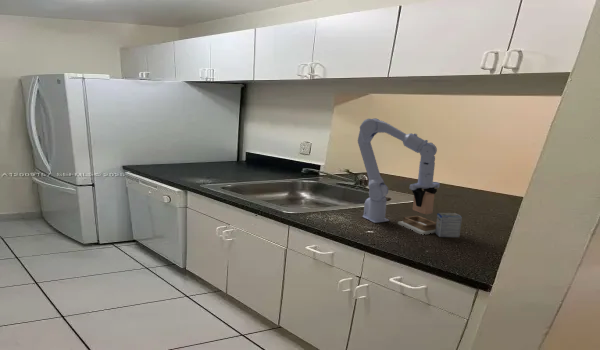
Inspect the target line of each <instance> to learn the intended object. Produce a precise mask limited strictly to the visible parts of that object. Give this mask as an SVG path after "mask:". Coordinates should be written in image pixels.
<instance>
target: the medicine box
mask: <svg viewBox="0 0 600 350" xmlns="http://www.w3.org/2000/svg"><path fill="white" fill-rule="evenodd" d="M462 219H463V217H462V215H460V214H458V213H455V212H438V213H437V214H436V221H435V222H436V231H435V233H434V234H435V235H437V236H438V237H439V238H460V235H461V229H462Z"/></svg>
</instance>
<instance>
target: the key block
mask: <svg viewBox="0 0 600 350" xmlns="http://www.w3.org/2000/svg"><path fill="white" fill-rule="evenodd" d="M435 194H436V193H435ZM435 194H432V193H429V192H425V194H424V196H423V200H422V205H421V207H419V206H416V201H415V197H414V196H413V199H412V200H413V201H412V210H413V211H415V212H418V213H420V214H424V215H430V214H434V213H433V210H434V203H435V201H434V200H435Z"/></svg>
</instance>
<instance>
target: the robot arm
mask: <svg viewBox="0 0 600 350" xmlns="http://www.w3.org/2000/svg"><path fill="white" fill-rule="evenodd" d="M378 133H385V134H387V135H390V136H391V137H394V138H396V139H398V140H399V141H401V142H402V143H403V146H404V147H406V148H408V149H410V150H411V151H413V152H415V153H417V154H419V155H420V159H419V160H420V161H419V166H418V167H419V168H418V178H417V182H415V183H411V184H409V188H408V189H409V190H411V192H412V194H413V198H414V197H415V201H416V206H419V207H421V205H422V200H423V196H424V194H425V192H429V193H432V194H436V193H437V192H438V189H439V188H440V186H441V185H440V184H441V183H440V182H434V174H435V167H436V165H435V164H436V163H435V160H436V156H435V155H436V154H437V152H438V149H437V145H436V144H434V143H433V142H429V140H428V139H423V138H421V137H420V136H418V134H417V133H405V132H404V131H402V130H400V129H398V128H397V127H394V126H393V125H391V124H390V123H388V122H385V121H383V120H380V119H378V118H366V119H364V120H363V121H362V123H361V124H360V126H359V133H358V136H357V144H358V147H359V150H360V154H361V157H362V160H363V164H364V167H365V170H366V174H367V177H368V196H369V197H368V198H366V199H365V201H364V204H363V205H364V207H363V208H364V209H363V215H362V216H361V217H362V218H364V219H366V220H368V221H370V222H372V223H375V224H378V223H385V222H390V219H388V218H386V211H387V198H386V196H388V194H389V187H388V186H387V185H386V184H385V182H384V181H385V180H384V179H383V177H382V176H381V173H380V170H379V166H378V163H377V159H376V156H375V152H374V150H373V146H372V140H373V138H374V136H376V135H377V134H378Z"/></svg>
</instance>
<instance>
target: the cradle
mask: <svg viewBox="0 0 600 350" xmlns="http://www.w3.org/2000/svg"><path fill="white" fill-rule="evenodd" d="M436 222H437V221H433V220H430V219H428V218H425V217H424V216H423V217H422V216H420V215H413V216H412V215H411V216H405V217H403V219H402V221H397V225H399V226H401V227H403V226H404V227H403V228H406V229H408V230H410V229H411V230H410V231H412V230H413V232H414V233H417V234H419V235H421V234H422V236H423V235H424V234H425V235H429V234H430V233H431V234H436V233H435V231H436ZM431 234H430V235H431ZM425 235H424V236H425Z"/></svg>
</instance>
